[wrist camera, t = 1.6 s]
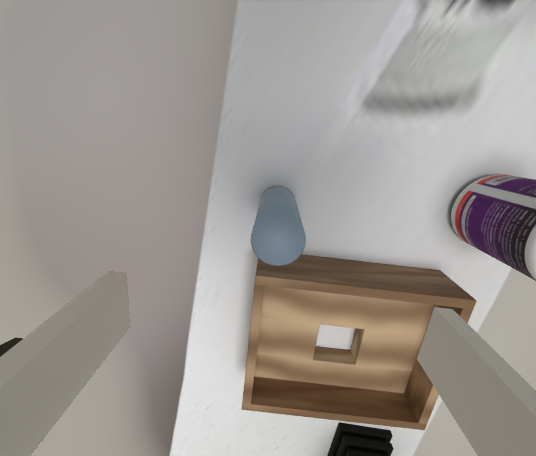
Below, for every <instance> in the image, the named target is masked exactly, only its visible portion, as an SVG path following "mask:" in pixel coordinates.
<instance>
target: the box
mask: <svg viewBox="0 0 536 456" xmlns="http://www.w3.org/2000/svg"><path fill="white" fill-rule="evenodd" d="M475 303H476V300H475V299H474V298H473V297H472V296H470V295H469V294H468V293H467V292H465V291H464V290H463V289H462V288H461V287H459V286H458V285H457V284H456V283H455V282H453V281H452V280H451V279H450V278H449V277H447V276H446V275H445V274H444V273H443V272H441V271H440V270H432V269H423V268H414V267H405V266H396V265H387V264H379V263H370V262H361V261H352V260H343V259H335V258H326V257H317V256H308V255H300V256H299V257H298V258H297V259H296V260H295V261H293V262H291V263H289V264H286V265H280V266H276V265H270V264H267V263H265V262H263V261H262V260H261V259H258V265H257V271H256V278H255V288H254V297H253V307H252V316H251V326H250V335H249V345H248V354H247V364H246V373H245V383H244V392H243V401H242V410H251V411H260V412H269V413H277V414H286V415H295V416H304V417H313V418H322V419H331V420H340V421H348V422H357V423H366V424H375V425H384V426H393V427H402V428H411V429H419V430H425V428H426V425H427V423H428V420H429V418H430V415H431V413H432V410H433V408H434V405H435V403H436V400H437V398H438V395H439V393H438V392H437V390H436V389H435V387H434V385H433V384H432V382H431V381H430V379H429V377H428V376H427V374H426V373H425V371H424V370H423V368H422V366H421V365H420V363H419V362H418V360H417V357H418V354H419V351H420V348H421V345H422V342H423V339H424V336H425V333H426V330H427V328H428V325H429V322H430V319H431V316H432V313H433V310H434V307H438V308H447V309H453V310H454V311H455V312H456V313H457V314H458V315H459V316H460V317H461V318H462V319H463V320H464V321H465V322H466V323H468V321H469V318H470V316H471V313H472V311H473V308H474V306H475ZM320 324H322V325H331V326H340V327H349V328H356V331H355V335H354V339H353V343H352V347H351V351H350V350H341V349H333V348H324V347H315V346H316V341H317V336H318V331H319V326H320Z"/></svg>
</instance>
